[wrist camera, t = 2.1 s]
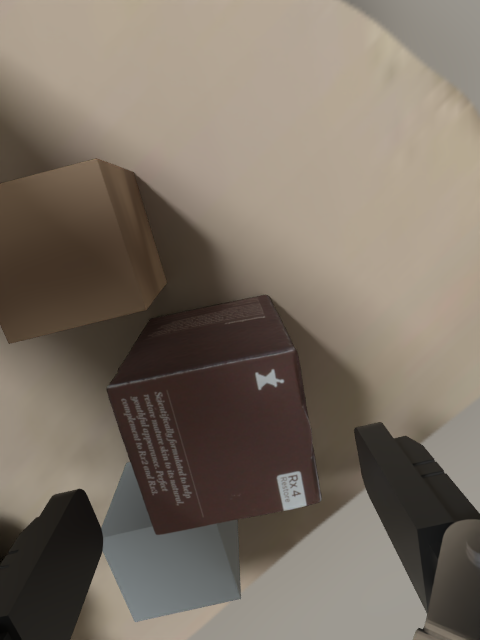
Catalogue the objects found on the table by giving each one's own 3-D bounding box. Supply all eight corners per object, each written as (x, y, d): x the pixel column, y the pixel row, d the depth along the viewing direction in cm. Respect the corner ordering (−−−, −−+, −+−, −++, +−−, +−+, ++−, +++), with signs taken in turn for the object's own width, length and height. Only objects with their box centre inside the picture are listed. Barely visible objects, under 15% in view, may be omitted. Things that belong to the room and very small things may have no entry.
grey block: (126, 461, 21) (97, 539, 16) (215, 441, 20) (212, 512, 16) (154, 531, 22) (134, 622, 17) (237, 513, 22) (240, 598, 17)
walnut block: (24, 200, 17) (-58, 198, 12) (133, 172, 16) (96, 158, 12) (66, 307, 18) (9, 343, 13) (167, 282, 18) (146, 309, 13)
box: (147, 315, 18) (99, 383, 11) (270, 291, 18) (299, 344, 11) (177, 423, 20) (152, 540, 13) (289, 402, 20) (325, 508, 13)
